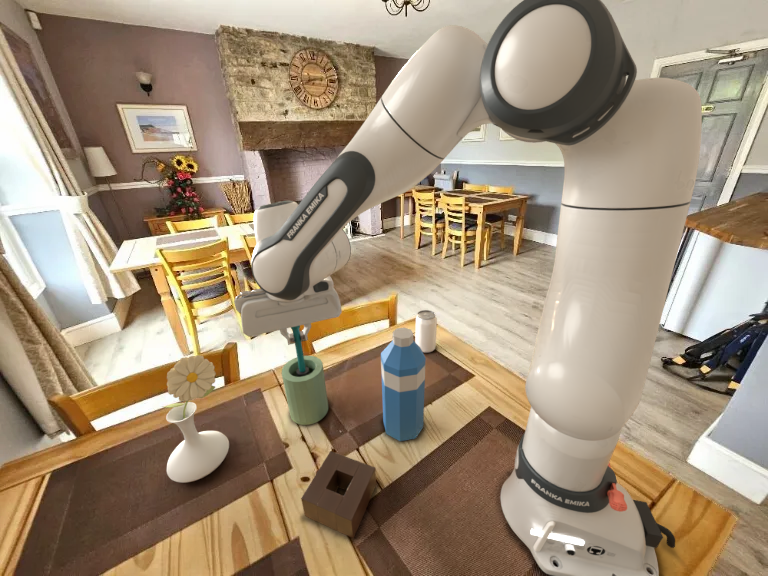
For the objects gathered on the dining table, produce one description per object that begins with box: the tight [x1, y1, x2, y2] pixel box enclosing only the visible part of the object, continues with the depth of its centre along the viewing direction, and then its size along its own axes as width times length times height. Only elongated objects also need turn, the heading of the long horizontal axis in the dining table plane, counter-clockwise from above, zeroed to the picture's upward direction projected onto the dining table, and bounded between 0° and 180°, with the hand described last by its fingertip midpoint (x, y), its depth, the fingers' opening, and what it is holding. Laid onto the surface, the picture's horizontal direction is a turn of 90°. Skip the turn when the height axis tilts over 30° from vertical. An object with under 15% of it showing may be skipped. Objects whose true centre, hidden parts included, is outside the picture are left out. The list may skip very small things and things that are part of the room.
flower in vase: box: [161, 354, 230, 483], centre depth 60 cm, size 13×11×25 cm
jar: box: [281, 355, 329, 426], centre depth 74 cm, size 9×9×13 cm
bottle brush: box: [290, 325, 310, 377], centre depth 70 cm, size 3×3×19 cm
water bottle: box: [380, 327, 427, 442], centre depth 67 cm, size 9×9×25 cm
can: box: [414, 309, 438, 354], centre depth 96 cm, size 6×6×12 cm
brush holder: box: [300, 450, 377, 539], centre depth 56 cm, size 10×10×5 cm
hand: (297, 341), depth 68 cm, fingers closed on bottle brush
